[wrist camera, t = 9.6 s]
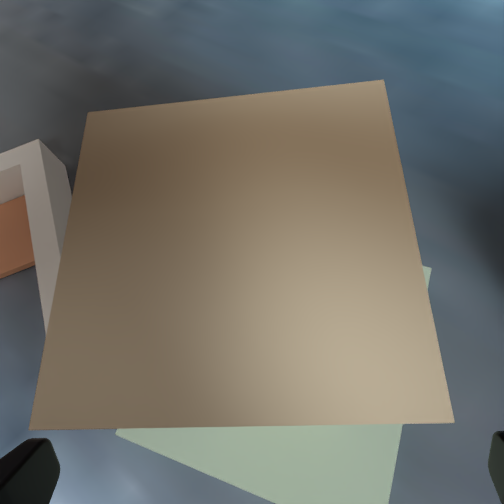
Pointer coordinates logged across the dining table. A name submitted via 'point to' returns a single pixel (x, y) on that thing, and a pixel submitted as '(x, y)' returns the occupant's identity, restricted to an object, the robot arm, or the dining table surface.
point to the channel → (33, 215)
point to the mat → (288, 457)
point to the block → (241, 271)
